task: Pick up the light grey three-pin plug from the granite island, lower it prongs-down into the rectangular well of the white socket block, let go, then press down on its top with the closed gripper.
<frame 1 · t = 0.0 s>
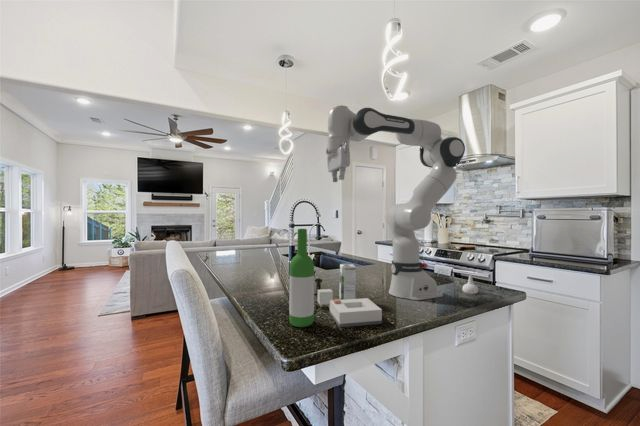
hand: (338, 180, 116), 48 cm above the counter, tool pointing down, fingers open, 8 cm apart
socket block: (354, 318, 95), on the counter
plug: (325, 306, 106), on the counter
syrup box: (347, 302, 112), on the counter
garlic bulb: (470, 292, 126), on the counter
wine bottle: (301, 323, 90), on the counter
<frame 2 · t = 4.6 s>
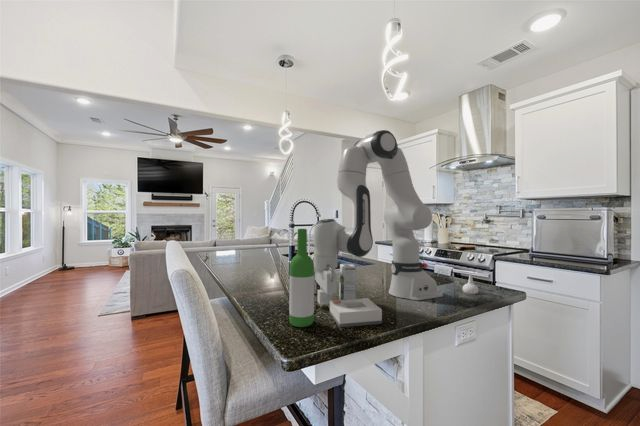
hand: (325, 299, 106), 3 cm above the counter, tool pointing down, fingers closed on plug, 4 cm apart
plug: (325, 306, 106), on the counter, touching gripper
everything else where it was.
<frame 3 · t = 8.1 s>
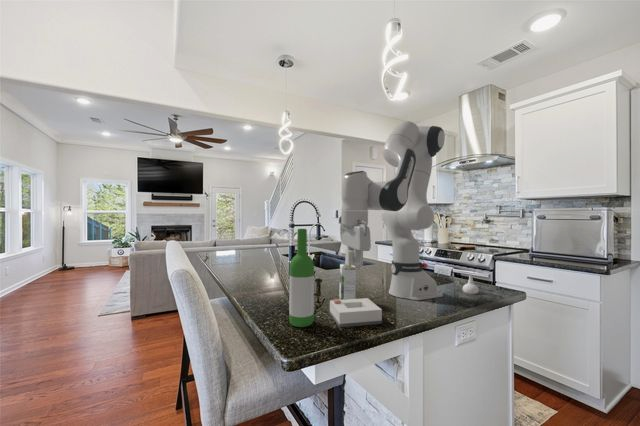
hand: (354, 261, 95), 19 cm above the counter, tool pointing down, fingers closed on plug, 4 cm apart
plug: (353, 268, 95), point 17 cm above the counter, touching gripper
everything else where it was.
when the fingers open (5 cm above the counter, at t = 11.5 s): plug drops 1 cm, resting on socket block.
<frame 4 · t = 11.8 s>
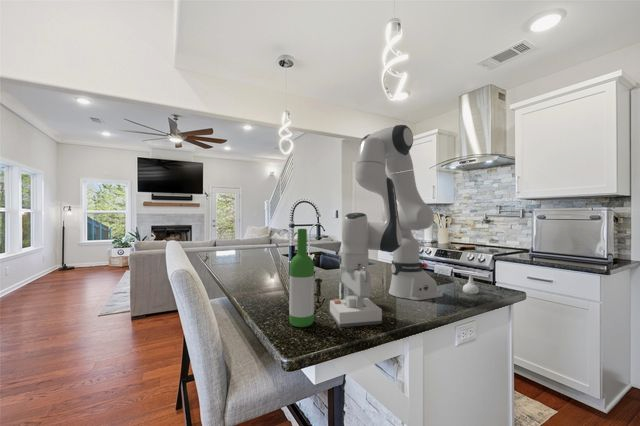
hand: (354, 303, 95), 5 cm above the counter, tool pointing down, fingers open, 6 cm apart
plug: (354, 315, 95), point 1 cm above the counter, touching socket block
everything else where it was.
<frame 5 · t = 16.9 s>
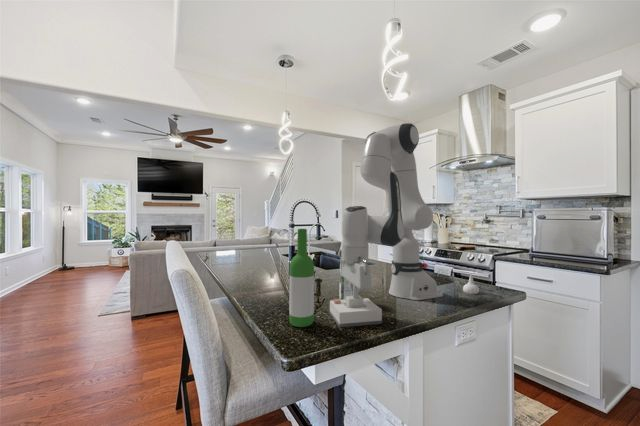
hand: (354, 296, 95), 7 cm above the counter, tool pointing down, fingers closed
nothing on the counter moved.
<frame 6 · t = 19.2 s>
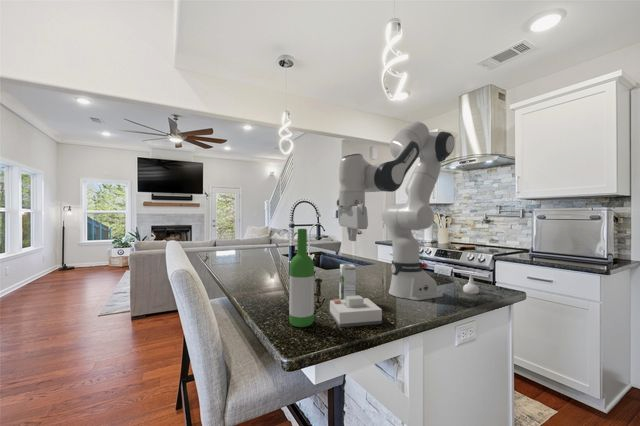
hand: (352, 240, 99), 25 cm above the counter, tool pointing down, fingers closed
nothing on the counter moved.
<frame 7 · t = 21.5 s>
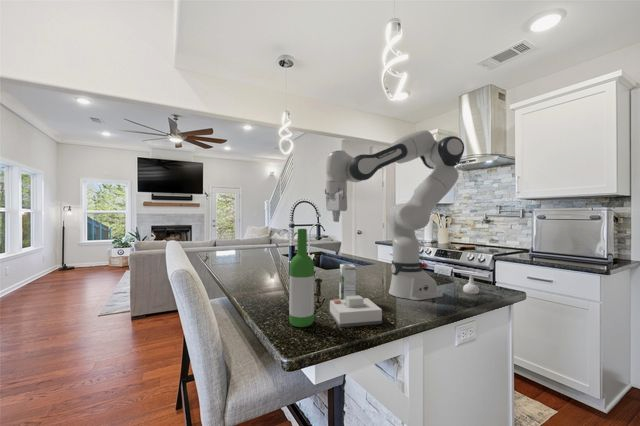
hand: (336, 221, 121), 31 cm above the counter, tool pointing down, fingers closed
nothing on the counter moved.
at the end: plug 0.1 cm off-centre on the socket block, point 1.0 cm above the socket block's base; plug tilted 0°; the gripper is holding nothing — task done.
